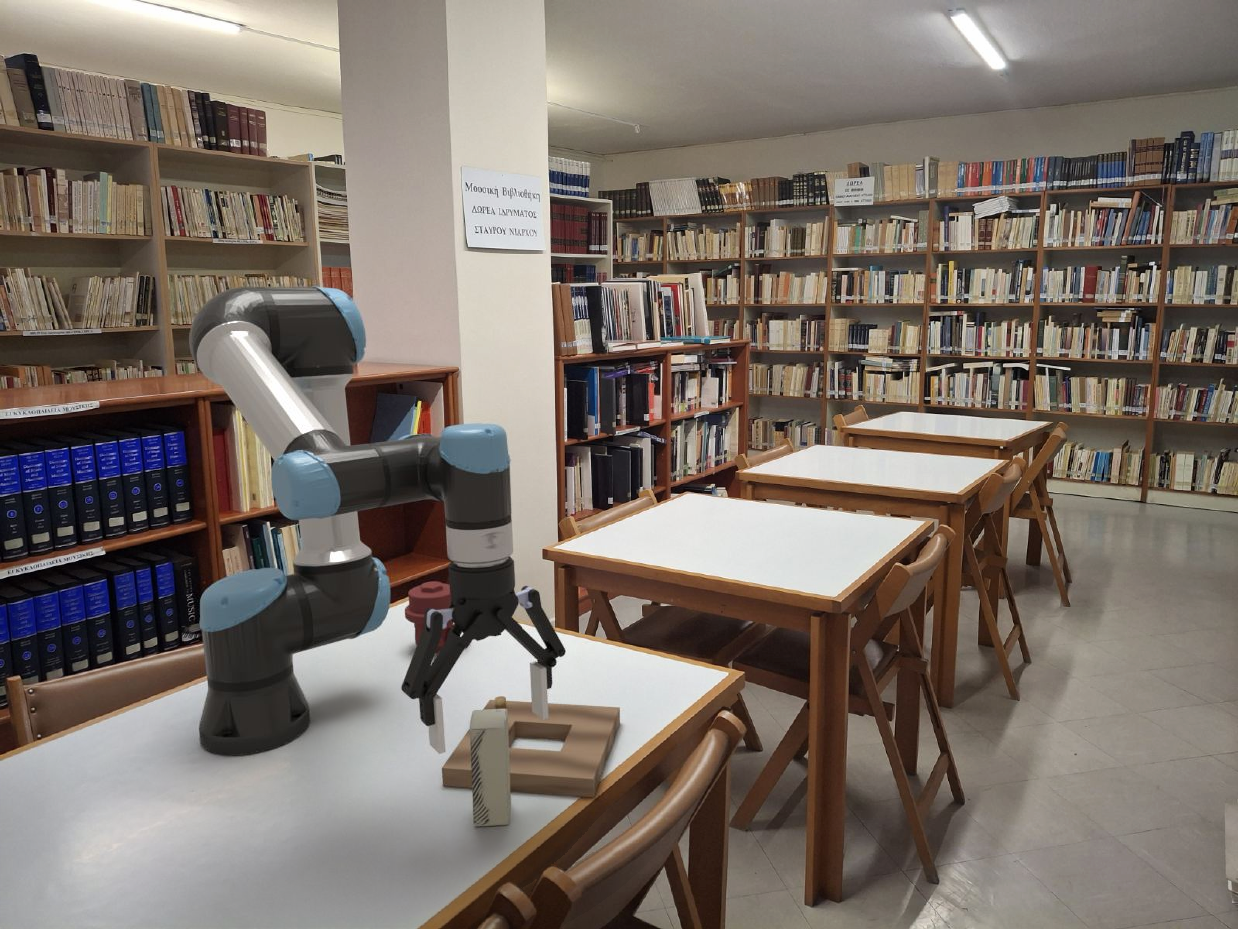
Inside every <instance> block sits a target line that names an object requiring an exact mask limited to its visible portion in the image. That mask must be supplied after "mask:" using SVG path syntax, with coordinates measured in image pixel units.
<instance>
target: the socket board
mask: <svg viewBox="0 0 1238 929" xmlns="http://www.w3.org/2000/svg"><path fill="white" fill-rule="evenodd" d="M620 708H621V707H615V706H602V705H601V706H600V705H585V704H584V705H583V704H568V703H566V704H565V703H555V702H554V703H553V702H551V703H550V702H548V718H547V719H542V718H540V717H539V716H537V715H536V714H534V713H533V712H532V701H519V700H518V701H517V700H516V701H515V700H507V697H506V696H503V695H502V696H496V697H495V698H494V699H489V700H488V702H487V703H486V704H485V706H484V707H483V709H482V710H487V709H507V711H508V735H509V764H510V792H519V793H533V794H544V795H545V794H547V795H557V796H558V795H560V796H570V797H571V796H572V797H583V798H595V795H596V793H597V789H598V787H599V784H600V781H601V778H602V775H603V773H604V770H605V768H606V765H607V761H608V758H609V755H610V752H611V750H612V748H613V745H614V742H615V738H616V736H617V733H618V731H619V727H620V725H621V715H620V714H621V709H620ZM515 738H520V739H538V740H548V741H549V740H551V741H553V740H554V741H564V742H563V745H562V747H561V748H560V750H549V749H547V750H546V749H537V748H536V749H533V748H521V747H518V748H517V747H511V746H512V744H513V742H514V741H515ZM441 779H442V786H444V787H453V788H454V787H456V788H457V787H458V788H465V789H466V788H467V789H469V788H471V789H472V771H471V745H470V728H468V730H467V732H466V733H465V734H464V736H463V737H462V739H461V740H460V741H459V742H458V744H457V746H456V747H455V748H454V750H453V751H452V753H451V754H450V756H449V757H448V759H447V760H446V761H445V762H444V764H443V765H442V767H441Z"/></svg>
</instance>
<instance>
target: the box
mask: <svg viewBox="0 0 1238 929" xmlns="http://www.w3.org/2000/svg"><path fill="white" fill-rule="evenodd" d="M469 729H470V745H471V771H472V788H471V790H472V791H471V792H472V793H471V794H472V815H473V826H474V827H491V826H493V827H494V826H505V825H509V824H510V822H511V821H510V820H511V810H512V809H511V808H512V807H511V806H512V798H511V796H512V795H511V791H510V764H509V735H508V711H507V709H487V710H483V709H474V710H473V711H472V714H471V716H470V722H469Z"/></svg>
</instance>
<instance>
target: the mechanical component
mask: <svg viewBox="0 0 1238 929" xmlns="http://www.w3.org/2000/svg"><path fill="white" fill-rule="evenodd" d="M450 604H451V595H450V585H449V583H442V582H440V581H436V580H435V581H434V580H433V581H427V582H423V583H422V584H421V585H417V586H415V587H413V588H411V589H410V590H408V605H407V606H406V607H405V608H404V618H405V619H406V620H407V621H408V622H410V623H412V624H414V626H413V627H414V642H415V645H416V646H417V644H418V641H419V639H420V636H421V634H422V631H423V628H424V613H425V610H426V609H427V608H433V609H434V610H441V609H449V606H450ZM446 625H447V626H446V628H444V629H442V635H441V639H440V642H439V644H438V647H437V650H436V652H435V654H438V653H439V651H440V650H441V648H442V647H443V645H444V643H445V642H446V640H447V638H448V637H447V636H448V633H449V631H450V630H451V628H452V627H453V625H454V622H453V621H452V620H451V619H450V620H449V621H448V622H447V624H446Z"/></svg>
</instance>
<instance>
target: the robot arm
mask: <svg viewBox="0 0 1238 929" xmlns="http://www.w3.org/2000/svg"><path fill="white" fill-rule="evenodd" d="M366 334H367V333H366V328H365V325H364V321H363V317H362V316H361V312H360V310H359V308H358V307H357V304H356V303H355V302H354V300H353V299H352V298H351V296H349V294H347V293H346V292H345V291H343V290H341V289H339V288H336V287H335V288H333V287H325V286H313V285H311V286H238V287H233V288H228V289H226V290H224V291H222V292H220V293H217V294H215V295H214V296H213V297H210V299H209V300H207V301H206V302H205V303H204V304H203V305H202V307H201V308H200V309H199V310H198V311H197V313H196V314H195V316H194V318H193V320H192V322H191V326H190V331H189V334H188V335H189V336H188V339H189V341H188V342H189V350H190V354H191V357H192V359H193V361H194V362H195V364H196V366H197V368H198V369H199V371H200V372H201V373H202V375H204V377H205V378H206V379H208V380H209V381H211V383H214V384H216V385H219V386H221V388H223V390H224V392H225V393H226V395H227V396H228V397H229V398H230V400H231V402H232V403H233V405H234V406H235V407H236V409H237V410H238V411H239V413H240V415H241V416H242V417H243V418H244V420H245V421H246V422H247V424H248V425H249V427H250V428H251V430H252V431H253V433H254V434H255V435H256V436H257V438H258V440H259V441H260V443H261V444H262V445H263V447H264V448H265V449H266V451H267V452H268V454H269V455H270V456H271V458H272V459H273V464H272V467H271V473H270V476H271V477H270V480H271V481H270V483H271V490H272V494H273V497H274V499H275V502H276V506H277V509H278V510H279V511H280V513H281V514H282V515H283V516H284V517H285V518H287V519H289V520H292V521H298V524H299V532H300V533H299V534H300V542H301V543H300V544H301V549H300V550H299V551H298V552H297V554H296V555H295V556H294V557H293V559H292V566H293V573H291V574H288V575H286V574H285V572H284V571H283V570H282V569H279V568H277V567H276V568H275V567H261V568H259V569H255V568H252V569H249V570H243V571H239V572H236V573H234V574H230V575H228V576H226V577H224V578H221V579H219V580H216V582H214V583H212V584H211V585H210V586H209V587H207V588H206V589H205V590H204V592H203V593H202V595H201V597H200V600H199V615H200V617H199V627H200V629H201V637H202V645H203V653H204V662H205V663H204V664H205V670H206V679H207V692H206V696H205V700H204V704H203V708H202V714H201V717H200V720H199V724H198V731H199V732H198V733H199V741H200V742H199V743H200V746H201V747H203V749H204V750H206V751H208V752H211V753H214V754H218V755H227V756H228V755H229V756H236V755H237V756H238V755H249V754H250V755H251V754H256V753H260V752H264V751H265V752H266V751H269V750H271V749H275V748H277V747H280V746H284V745H285V744H287V743H289V742H292V741H293V740H295V739H297V738H298V737H300V736H301V735H302V734H304V733H305V732H306V731H307V729H308V728H309V727H310V724H311V712H310V711H311V709H310V704H309V702H308V700H307V699H306V696H305V694H304V692H303V690H302V688H301V686H300V682H299V681H298V679H297V677H296V675H295V671H294V663H293V662H294V661H293V659H294V658H293V655H294V654H297V653H301V652H305V651H308V650H312V649H315V648H320V647H323V646H328V645H330V644H334V643H338V642H341V641H346V640H353V639H357V638H359V637H360V636H361V635H365V634H368V633H370V632H371V633H372V632H374V631H376V630H377V629H378V628H380V627H381V626H382V625H383V623H384V621H385V620H386V618H387V615H388V614H389V610H390V604H391V584H390V578H389V576H388V575H387V569H386V567H385V565H384V564H383V562H382V561H381V560H380V559H378V558H377V557H373V554H372V548H370V547H369V546H368V545H366V544H365V543H364V542H362V541H361V537H360V536H361V535H360V528H359V526H360V525H359V516H358V512H361V511H365V510H369V509H375V508H384V507H388V506H394V505H399V504H407V503H410V502H411V503H412V502H417V501H418V502H419V501H422V500H434V501H439V502H442V503H444V504H443V506H444V516H445V531H446V532H445V533H446V534H445V535H446V550H447V552H446V553H447V555H446V556H447V558H448V559H449V560H450V562H449V564H448V566H447V567H448V581H449V582H448V584H449V585H450V595H451V604H450V606H449V609H441V610H434V609H433V608H427V609H426V610H425V613H424V628H423V631H422V634H421V636H420V639H419V641H418V644H417V645H416V648H415V649H414V653H413V655H412V658H411V660H410V662H409V666H408V668H407V671H406V673H405V675H404V678H403V681H402V684H401V687H400V688H401V691H402V692H403V693H404V695H406V696H407V697H409V699H411V700H417V699H418V703H419V704H418V705H419V717H420V720H421V722H422V724H424V725H425V726H426V727H428V738H429V746H430V747H431V748H432V749H434V750H435V752H436V753H438V754H439V755H440V754H444V753H446V740H445V739H446V738H445V737H446V736H445V723H444V712H443V711H444V709H443V697H442V696H440V695H439V694H437V693H439V690H440V689H441V687H442V685H444V682H445V681H446V679H447V677H449V675H450V673H451V671H452V670H453V668H454V667H455V665H456V663H458V660H459V658H460V657H461V655H462V653H463V652H464V651H465V649H468V648H469V646H470V645H471V643H472V642H473V641H474V640H475V641H477V642H478V641H482V640H485V639H486V638H489V637H499V636H501V635H502V633H503V632H505V631H506V632H507V633H508V634H509V635H510V636H512V638H513V639H514V640H516V641H517V643H519V644H520V645H521V646H522V647H523V648H524V649H525V650H526V651H527V652H528V653H529V655H531V656H532V657H534V658H535V659H536V660H533V661H530V662H529V672H530V674H529V675H530V676H529V677H530V694H531V702H532V712H533V713H534V714H536V715H537V716H539V717H540V718H542V719H547V718H548V703H549V702H548V690H550V689H552V686H553V670H552V668H554V667H555V666H556V665H557V658H562V657H564V656H565V655H566V647H565V646H564V644H563V642H562V641H561V639H560V638H559V635H558V633H557V632H556V631H555V628H554V627H553V625H552V623H551V621H550V619H549V617H548V616H547V614H546V613H545V610H544V609H543V607H542V600H541V596H540V592H539V591H538V590H537V589H534V588H532V587H530V586H528V585H523V587H522V588H521V589H520V591H517V592H515V587H516V576H515V575H516V574H515V572H516V571H515V560H514V559H513V557H511V556H512V555H513V553H514V538H513V520H512V491H511V489H512V488H511V486H512V485H511V458H510V457H511V456H510V454H509V447H508V446H509V445H508V437H507V432H506V430H505V429H504V428H503V427H502V426H501V425H500V424H495V423H464V424H463V423H462V424H455V425H450V426H447V427H444V429H442V430H441V433H440V436H436V435H432V434H430V433H424V432H423V433H421V434H420V433H417V434H416V433H415V434H412V433H411V434H405V435H403V436H401V437H399V438H398V439H396V440H388V441H380V442H371V443H363V444H355V445H351V437H350V428H349V426H350V425H349V419H348V418H349V417H348V416H349V415H348V407H347V398H346V396H347V395H346V389H345V388H346V386H347V385H348V384H349V382H351V380H352V378H354V376H355V374H354V366H355V365H357V364H358V363H360V362H361V361H362V360H363V359H364V356H365V353H366V350H365V348H366V346H367V335H366ZM518 606H520V607H522V608H523V609H524V610H525V612H526V614H527V616H528V618H529V619H530V621H531V623H532V624H533V626H534V628H535V630H536V631H537V633H538V635H539V637H540V638H541V641H542V642H543V643H544V646H545V648H543V646H542V645H541V644H540V643H538V641H537V640H535V639H534V638H533V637H532V636H531V634H530V633H528V632H527V631H526V630H525V629H524V628H523V626H522V625H521V624H520V623H519V622H518V621H517V620H516V619H514V618H513V616H514V613H516V612H515V611H516V610H517V608H518ZM450 619H451V620H452V621H453V623H454V625H453V627H452V628H451V630H450V631H449V633H448V636H447V637H448V638H447V640H446V642H445V643H444V645H443V647H442V648H441V650H440V651H439V652H437V654H436V653H435V652H436V650H437V647H438V644H439V642H440V639H441V635H442V629H444V628H446V626H447V625H446V624H447V622H448V621H449V620H450ZM435 654H436V656H435ZM434 657H435V658H434Z"/></svg>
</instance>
